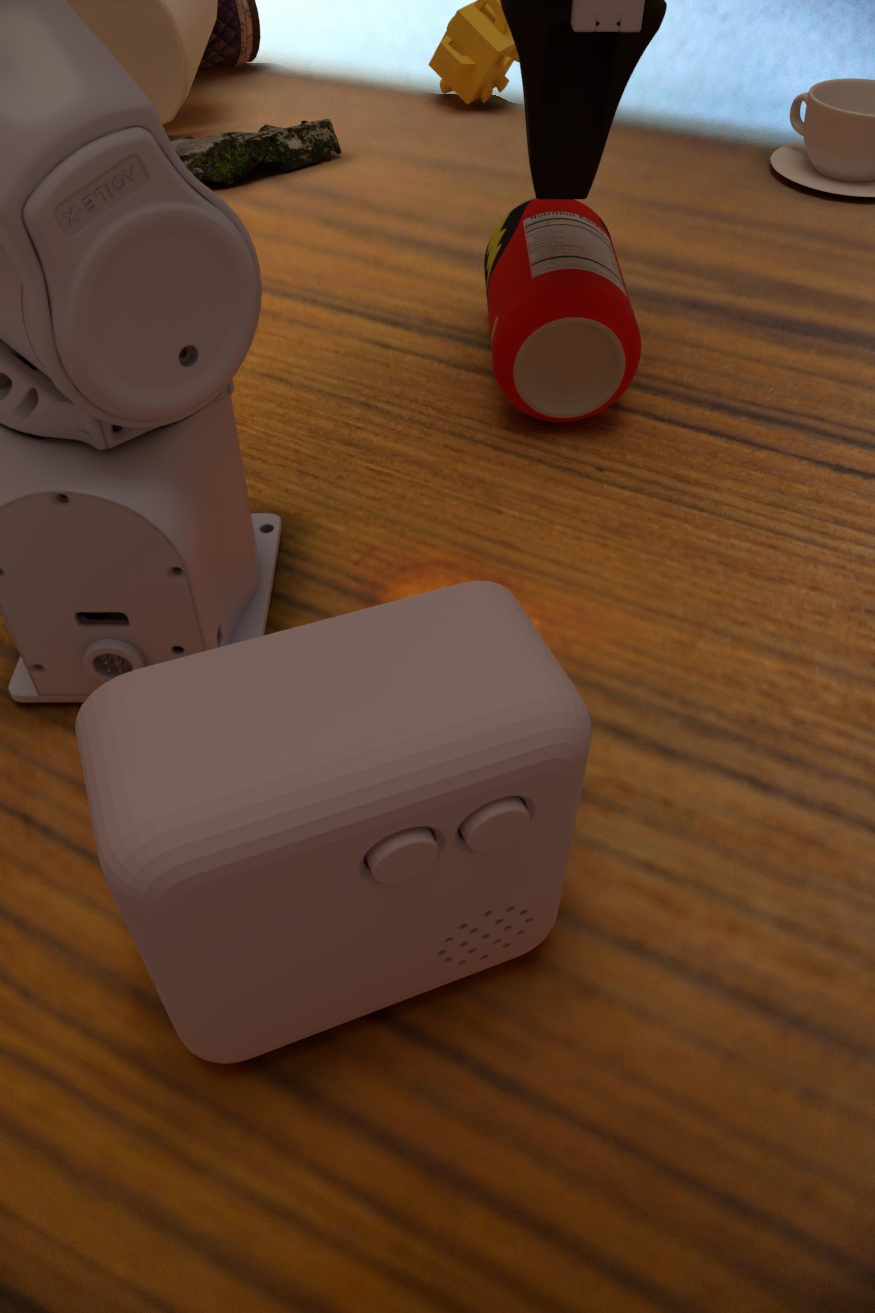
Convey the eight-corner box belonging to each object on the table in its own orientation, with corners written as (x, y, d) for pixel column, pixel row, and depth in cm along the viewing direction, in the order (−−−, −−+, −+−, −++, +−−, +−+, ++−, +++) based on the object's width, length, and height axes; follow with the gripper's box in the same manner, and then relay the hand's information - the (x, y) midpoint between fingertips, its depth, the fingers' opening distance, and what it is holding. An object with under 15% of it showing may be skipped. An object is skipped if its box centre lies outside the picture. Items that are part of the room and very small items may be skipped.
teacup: (953, 177, 64) (982, 99, 60) (872, 218, 59) (900, 135, 56) (821, 137, 69) (842, 62, 65) (738, 170, 64) (755, 92, 61)
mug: (132, 74, 72) (277, 58, 77) (101, -39, 69) (253, -49, 74) (96, 102, 80) (229, 85, 85) (67, 2, 77) (206, -9, 82)
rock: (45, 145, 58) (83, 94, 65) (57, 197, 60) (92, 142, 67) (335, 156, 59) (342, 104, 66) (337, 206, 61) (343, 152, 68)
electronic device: (197, 1105, 23) (90, 889, 16) (160, 936, 26) (56, 690, 19) (572, 959, 26) (628, 716, 18) (499, 821, 29) (523, 566, 21)
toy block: (499, 109, 78) (449, 58, 77) (555, 18, 71) (501, -37, 71) (451, 140, 73) (397, 86, 72) (507, 46, 67) (448, -13, 66)
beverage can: (645, 424, 42) (610, 296, 51) (645, 286, 38) (606, 170, 46) (502, 443, 43) (490, 314, 51) (485, 310, 38) (475, 192, 47)
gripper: (802, -262, 24) (693, 274, 34) (691, -290, 34) (632, 129, 44) (517, -264, 24) (492, 273, 34) (491, -291, 34) (477, 129, 44)
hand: (559, 192), depth 39 cm, fingers closed
